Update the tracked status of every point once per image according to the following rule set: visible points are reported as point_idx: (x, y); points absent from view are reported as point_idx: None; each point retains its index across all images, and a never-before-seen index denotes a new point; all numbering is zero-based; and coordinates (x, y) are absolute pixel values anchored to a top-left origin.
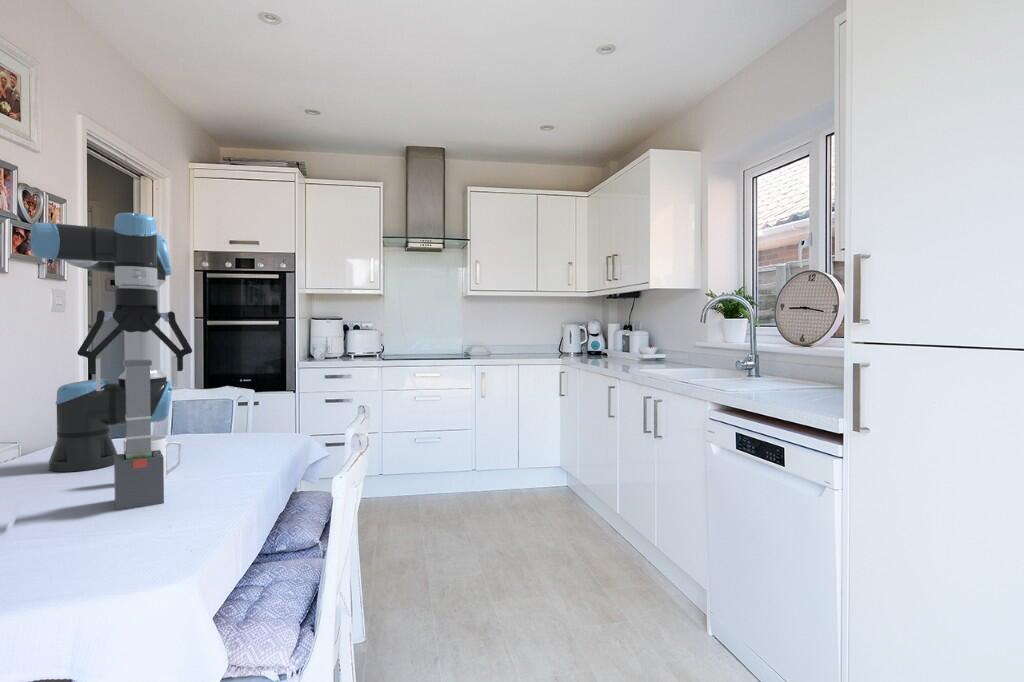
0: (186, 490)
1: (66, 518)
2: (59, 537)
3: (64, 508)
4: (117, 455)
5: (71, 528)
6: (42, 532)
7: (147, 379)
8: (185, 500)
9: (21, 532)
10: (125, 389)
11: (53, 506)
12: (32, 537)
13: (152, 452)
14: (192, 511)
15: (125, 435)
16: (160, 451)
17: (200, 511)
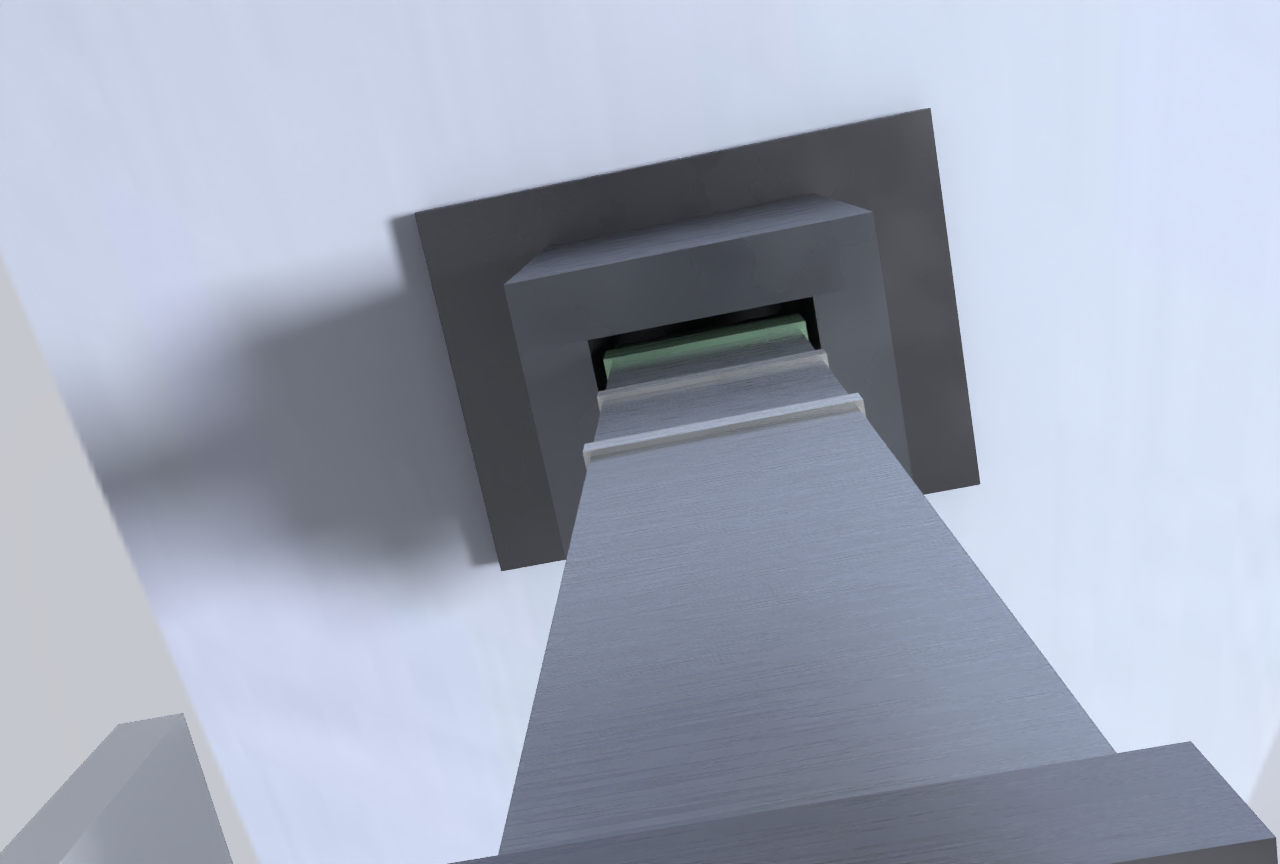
0: (970, 13)
1: (340, 416)
2: (410, 742)
3: (257, 177)
4: (539, 328)
5: (424, 619)
6: (301, 629)
7: None
8: (968, 297)
9: (196, 587)
10: (559, 592)
11: (171, 93)
12: (283, 691)
13: (818, 312)
14: (1010, 564)
15: (600, 406)
16: (884, 293)
17: (1053, 582)
